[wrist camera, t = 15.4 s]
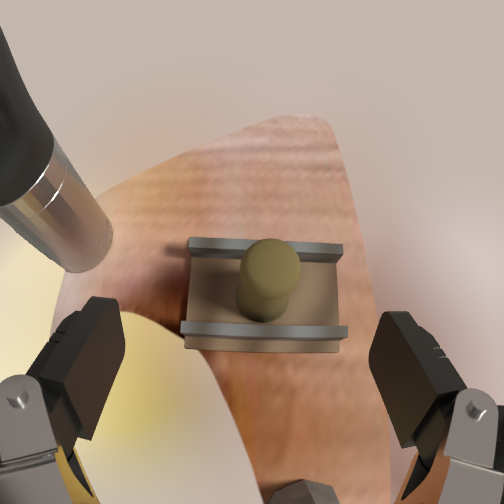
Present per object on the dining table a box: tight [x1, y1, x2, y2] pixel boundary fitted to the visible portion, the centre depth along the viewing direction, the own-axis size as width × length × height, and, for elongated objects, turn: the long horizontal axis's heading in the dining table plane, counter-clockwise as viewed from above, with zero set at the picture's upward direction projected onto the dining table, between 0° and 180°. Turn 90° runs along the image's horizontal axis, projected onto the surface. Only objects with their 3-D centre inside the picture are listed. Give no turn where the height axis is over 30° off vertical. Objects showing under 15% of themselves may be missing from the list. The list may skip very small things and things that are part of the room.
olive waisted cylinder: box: [235, 238, 301, 323], centre depth 31 cm, size 6×6×11 cm
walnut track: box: [180, 237, 348, 353], centre depth 35 cm, size 17×13×4 cm
